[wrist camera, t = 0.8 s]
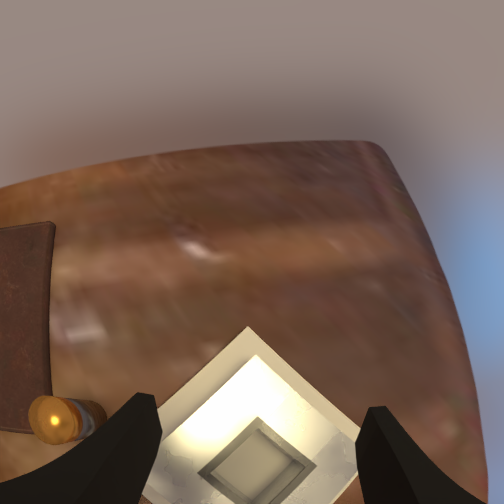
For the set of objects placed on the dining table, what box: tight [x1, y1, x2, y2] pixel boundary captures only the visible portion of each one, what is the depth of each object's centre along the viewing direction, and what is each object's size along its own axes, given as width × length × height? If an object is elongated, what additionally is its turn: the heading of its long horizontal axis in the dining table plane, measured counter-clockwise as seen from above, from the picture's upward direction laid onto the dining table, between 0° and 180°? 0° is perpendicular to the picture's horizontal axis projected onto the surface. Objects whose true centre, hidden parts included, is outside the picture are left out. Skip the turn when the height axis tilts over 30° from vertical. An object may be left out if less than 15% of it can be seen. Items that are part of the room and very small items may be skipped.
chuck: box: [147, 355, 358, 504], centre depth 19 cm, size 12×12×3 cm
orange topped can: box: [28, 396, 107, 445], centre depth 17 cm, size 3×3×8 cm
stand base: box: [142, 327, 360, 504], centre depth 20 cm, size 16×16×1 cm
